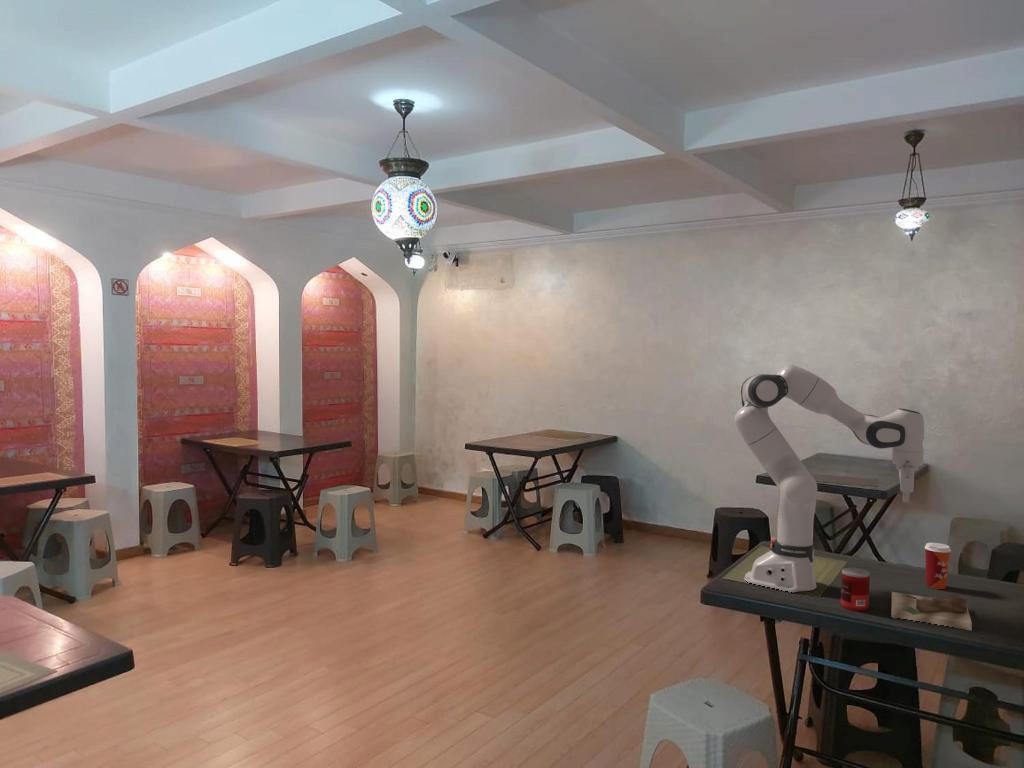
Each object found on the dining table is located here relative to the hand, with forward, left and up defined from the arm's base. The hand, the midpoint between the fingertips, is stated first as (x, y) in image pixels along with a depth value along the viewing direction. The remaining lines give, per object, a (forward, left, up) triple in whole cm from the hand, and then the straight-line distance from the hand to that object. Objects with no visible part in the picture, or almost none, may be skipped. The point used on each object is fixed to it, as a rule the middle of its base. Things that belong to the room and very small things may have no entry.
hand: (905, 501), depth 238 cm
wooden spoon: (+10, -23, -27) cm, 36 cm away
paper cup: (+10, +9, -29) cm, 32 cm away
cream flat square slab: (+7, -20, -29) cm, 36 cm away
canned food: (-13, -25, -29) cm, 41 cm away
